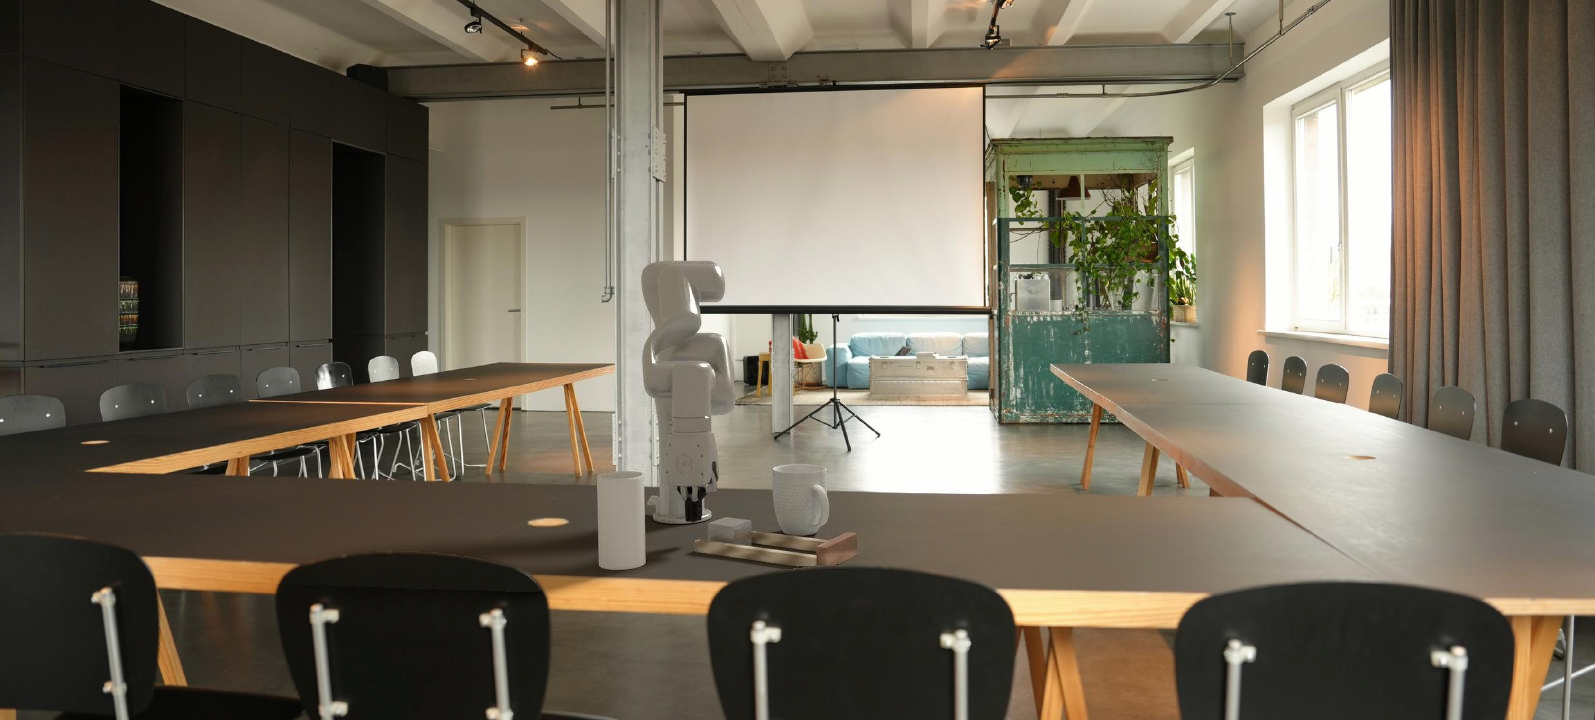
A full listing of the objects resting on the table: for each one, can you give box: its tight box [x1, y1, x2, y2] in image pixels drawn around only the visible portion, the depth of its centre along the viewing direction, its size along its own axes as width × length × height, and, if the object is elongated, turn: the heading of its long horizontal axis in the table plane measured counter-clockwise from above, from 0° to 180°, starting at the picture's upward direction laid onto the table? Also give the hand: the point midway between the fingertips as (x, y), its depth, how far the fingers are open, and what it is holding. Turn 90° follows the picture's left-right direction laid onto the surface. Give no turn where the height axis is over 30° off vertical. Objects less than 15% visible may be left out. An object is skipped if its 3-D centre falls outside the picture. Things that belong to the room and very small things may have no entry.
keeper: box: [706, 516, 753, 547], centre depth 182 cm, size 6×6×5 cm
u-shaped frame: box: [693, 530, 858, 568], centre depth 177 cm, size 28×12×4 cm, turn 60°
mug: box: [772, 463, 830, 537], centre depth 192 cm, size 15×11×13 cm
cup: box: [596, 470, 647, 571], centre depth 171 cm, size 8×8×16 cm
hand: (693, 520), depth 185 cm, fingers closed
